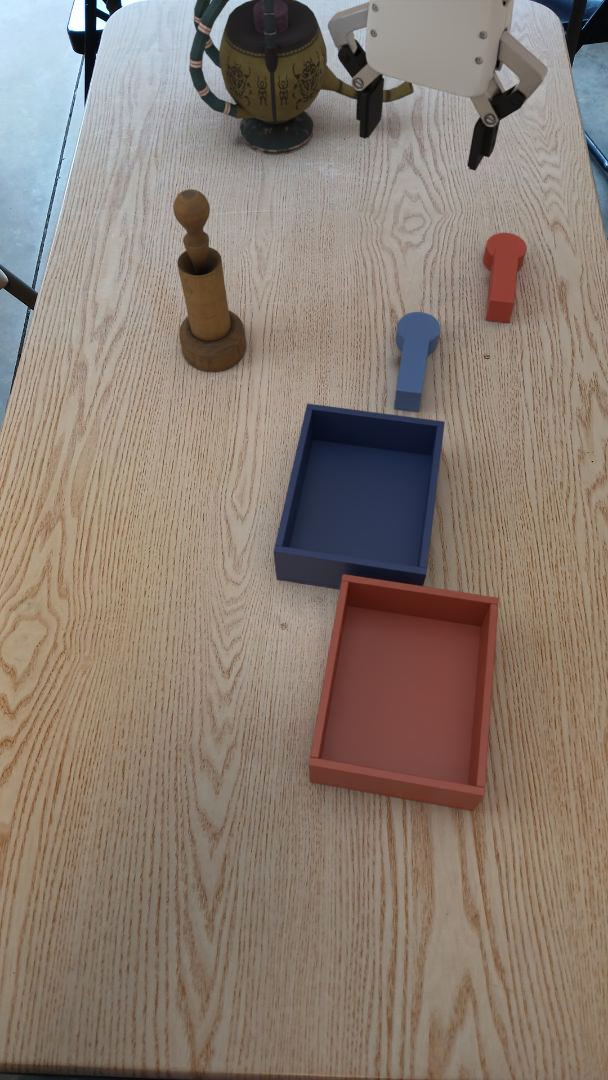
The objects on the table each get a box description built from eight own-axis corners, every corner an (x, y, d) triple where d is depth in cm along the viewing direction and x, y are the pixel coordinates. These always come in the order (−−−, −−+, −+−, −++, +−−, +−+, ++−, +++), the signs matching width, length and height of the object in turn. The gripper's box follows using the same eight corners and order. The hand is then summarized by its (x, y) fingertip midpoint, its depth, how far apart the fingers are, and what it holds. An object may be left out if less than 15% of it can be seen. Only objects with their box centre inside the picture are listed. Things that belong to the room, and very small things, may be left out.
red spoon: (518, 324, 84) (523, 304, 82) (476, 319, 85) (481, 299, 82) (523, 249, 90) (529, 228, 87) (484, 245, 90) (489, 224, 88)
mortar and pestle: (168, 345, 84) (133, 192, 68) (218, 313, 86) (195, 158, 70) (209, 383, 81) (182, 233, 66) (259, 349, 83) (245, 196, 68)
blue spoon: (428, 413, 79) (431, 394, 77) (384, 408, 79) (386, 388, 77) (439, 328, 84) (443, 308, 82) (398, 323, 85) (400, 303, 82)
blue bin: (419, 601, 69) (426, 574, 65) (276, 579, 71) (273, 551, 66) (437, 454, 77) (444, 421, 72) (307, 437, 78) (307, 403, 74)
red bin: (473, 811, 61) (484, 796, 57) (309, 782, 62) (308, 765, 58) (487, 623, 68) (499, 597, 64) (341, 600, 70) (342, 573, 65)
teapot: (205, 102, 104) (177, -118, 83) (406, 96, 103) (426, -126, 83) (200, 164, 98) (169, -56, 77) (413, 159, 97) (437, -64, 77)
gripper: (595, -90, 54) (536, 146, 69) (355, -140, 58) (347, 93, 73) (560, -35, 51) (506, 200, 66) (308, -92, 55) (310, 142, 70)
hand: (423, 144), depth 70 cm, fingers open, 9 cm apart
